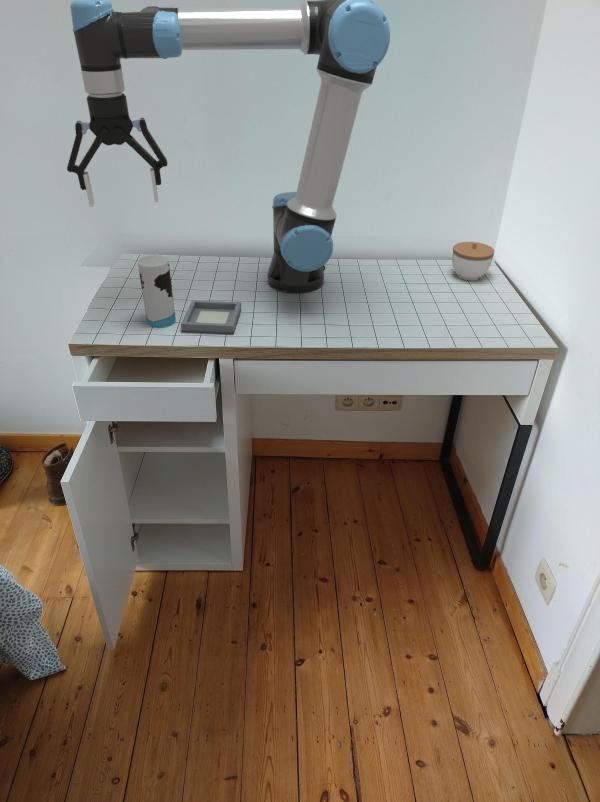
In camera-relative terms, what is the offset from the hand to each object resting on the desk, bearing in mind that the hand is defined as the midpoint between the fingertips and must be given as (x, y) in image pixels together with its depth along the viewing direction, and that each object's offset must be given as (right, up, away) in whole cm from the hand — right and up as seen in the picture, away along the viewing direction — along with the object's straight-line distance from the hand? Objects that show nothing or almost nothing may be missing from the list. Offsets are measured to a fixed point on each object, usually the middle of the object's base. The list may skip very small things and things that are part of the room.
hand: (124, 202), depth 131 cm
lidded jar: (+84, -9, +35) cm, 92 cm away
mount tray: (+17, -24, +12) cm, 32 cm away
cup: (+5, -24, +12) cm, 28 cm away
